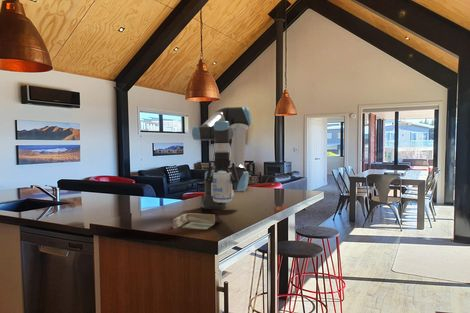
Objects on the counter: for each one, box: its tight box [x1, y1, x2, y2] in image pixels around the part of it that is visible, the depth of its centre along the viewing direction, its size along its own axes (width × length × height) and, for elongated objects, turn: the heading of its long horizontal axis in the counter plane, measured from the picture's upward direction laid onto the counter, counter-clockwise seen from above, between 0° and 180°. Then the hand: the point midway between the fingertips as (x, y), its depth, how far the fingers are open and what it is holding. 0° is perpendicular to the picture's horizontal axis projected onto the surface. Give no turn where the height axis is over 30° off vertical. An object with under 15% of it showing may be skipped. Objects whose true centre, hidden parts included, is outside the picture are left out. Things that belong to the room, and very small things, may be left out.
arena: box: [172, 212, 216, 230], centre depth 156 cm, size 16×16×4 cm
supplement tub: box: [213, 172, 233, 203], centre depth 168 cm, size 10×10×15 cm
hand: (222, 195), depth 169 cm, fingers closed on supplement tub, 9 cm apart
